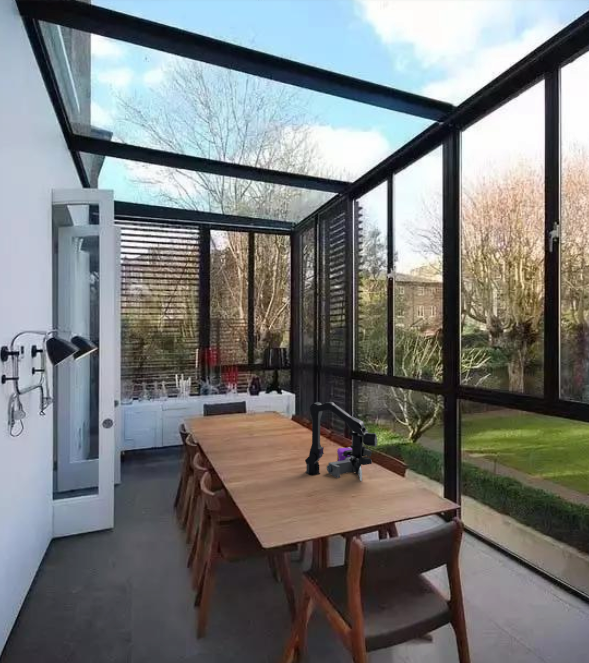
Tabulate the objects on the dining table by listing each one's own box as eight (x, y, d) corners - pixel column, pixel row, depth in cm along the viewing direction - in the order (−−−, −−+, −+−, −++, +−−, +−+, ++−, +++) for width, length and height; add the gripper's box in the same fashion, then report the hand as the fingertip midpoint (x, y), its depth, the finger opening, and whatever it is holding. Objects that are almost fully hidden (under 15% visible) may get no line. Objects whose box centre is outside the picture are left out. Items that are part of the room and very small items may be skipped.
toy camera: (342, 470, 246) (342, 452, 246) (334, 463, 259) (334, 446, 259) (359, 468, 249) (359, 451, 249) (350, 462, 262) (350, 445, 262)
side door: (362, 480, 226) (362, 471, 226) (360, 480, 226) (360, 471, 226) (360, 473, 238) (360, 464, 238) (358, 473, 238) (358, 464, 238)
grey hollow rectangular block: (335, 478, 231) (335, 467, 231) (326, 473, 239) (326, 462, 239) (361, 473, 239) (361, 463, 239) (352, 469, 247) (352, 459, 247)
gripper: (380, 446, 225) (379, 476, 225) (359, 438, 241) (358, 465, 242) (363, 449, 220) (362, 479, 220) (342, 440, 236) (342, 468, 237)
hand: (356, 472), depth 230 cm, fingers closed
